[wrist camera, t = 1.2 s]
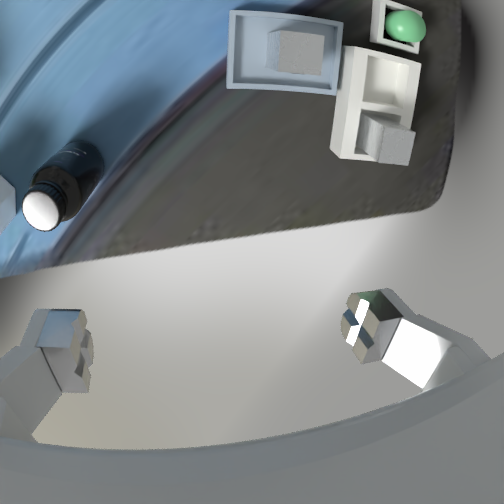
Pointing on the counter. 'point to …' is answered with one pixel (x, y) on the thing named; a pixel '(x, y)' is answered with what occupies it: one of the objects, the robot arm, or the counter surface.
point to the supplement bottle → (62, 185)
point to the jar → (6, 204)
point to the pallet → (371, 95)
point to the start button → (405, 26)
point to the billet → (294, 52)
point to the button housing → (377, 25)
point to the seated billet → (385, 139)
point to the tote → (254, 52)
